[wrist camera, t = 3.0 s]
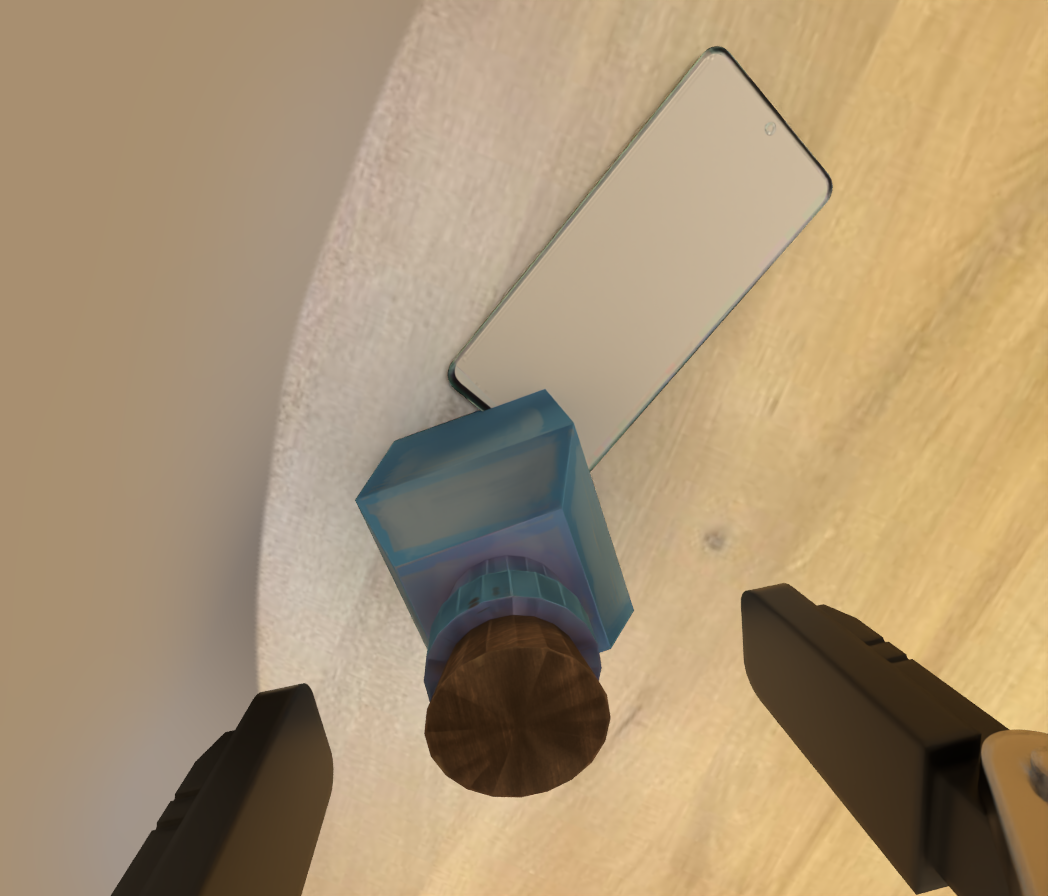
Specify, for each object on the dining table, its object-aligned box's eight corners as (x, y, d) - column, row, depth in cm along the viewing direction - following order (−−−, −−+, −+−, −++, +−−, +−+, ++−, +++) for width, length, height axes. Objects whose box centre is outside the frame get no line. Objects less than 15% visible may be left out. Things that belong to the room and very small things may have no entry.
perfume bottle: (589, 524, 21) (728, 793, 9) (452, 572, 21) (417, 902, 9) (544, 387, 19) (645, 506, 7) (394, 441, 19) (260, 641, 7)
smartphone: (440, 377, 18) (717, 35, 16) (440, 375, 19) (709, 45, 17) (576, 488, 20) (840, 188, 18) (574, 484, 20) (830, 191, 19)
